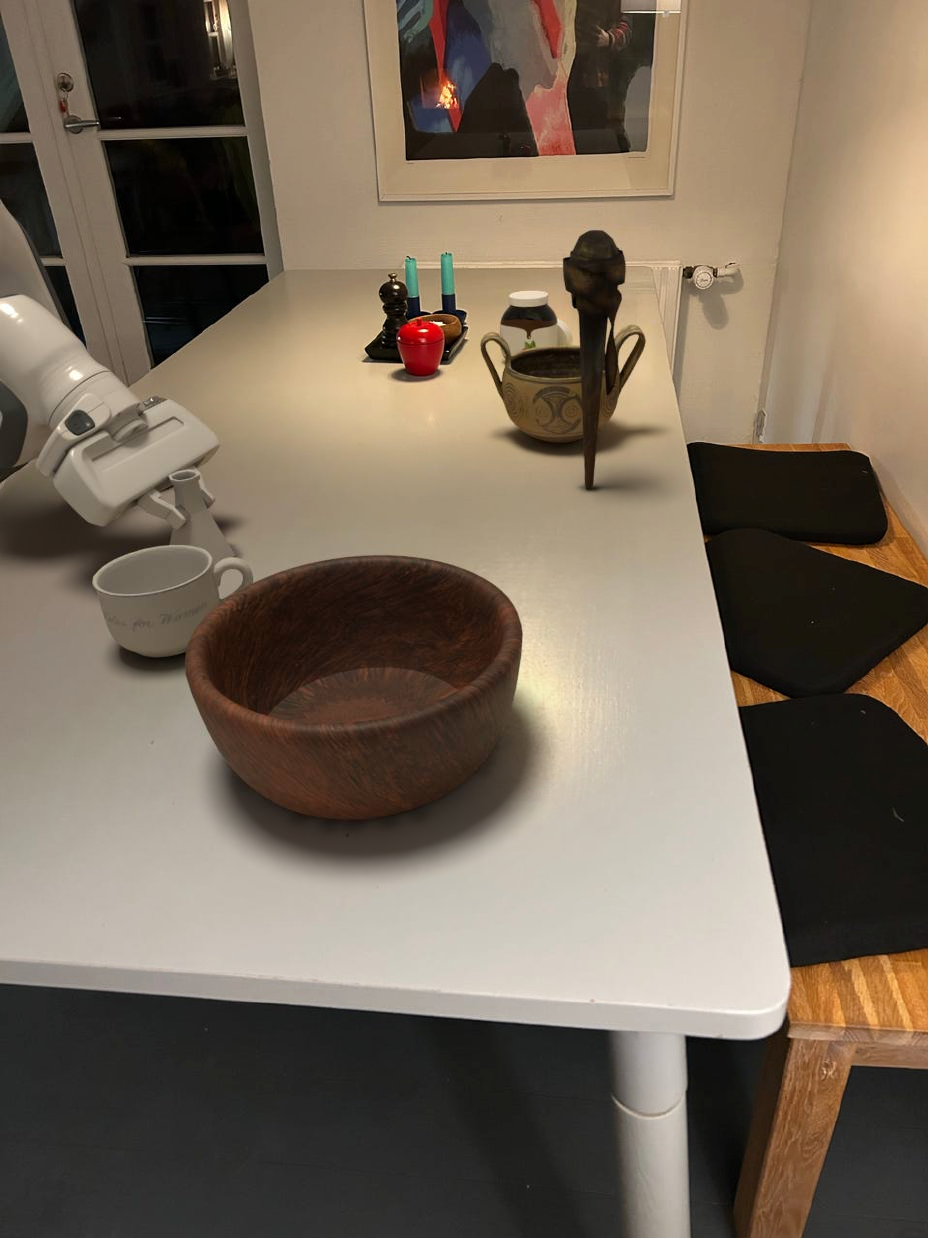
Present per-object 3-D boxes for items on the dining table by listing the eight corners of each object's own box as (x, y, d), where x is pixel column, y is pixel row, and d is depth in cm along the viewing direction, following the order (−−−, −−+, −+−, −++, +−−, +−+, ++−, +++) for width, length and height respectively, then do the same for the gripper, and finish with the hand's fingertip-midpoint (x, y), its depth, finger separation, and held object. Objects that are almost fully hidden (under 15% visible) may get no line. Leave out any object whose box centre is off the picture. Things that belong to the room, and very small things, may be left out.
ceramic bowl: (632, 415, 138) (638, 312, 130) (646, 456, 123) (653, 343, 115) (484, 418, 139) (481, 317, 131) (481, 460, 125) (477, 348, 117)
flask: (247, 557, 102) (231, 473, 97) (189, 580, 98) (170, 493, 93) (213, 538, 107) (196, 457, 102) (156, 559, 103) (136, 476, 97)
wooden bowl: (521, 650, 84) (520, 549, 78) (527, 850, 62) (526, 730, 57) (251, 654, 85) (232, 555, 80) (166, 852, 63) (132, 734, 58)
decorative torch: (577, 502, 111) (583, 238, 96) (552, 483, 117) (553, 230, 101) (626, 492, 113) (639, 231, 98) (599, 473, 119) (607, 224, 103)
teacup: (97, 674, 83) (74, 597, 79) (130, 613, 92) (111, 542, 88) (250, 666, 83) (235, 589, 79) (268, 606, 92) (256, 534, 88)
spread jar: (496, 366, 164) (494, 298, 158) (513, 349, 173) (512, 285, 167) (562, 369, 160) (562, 300, 154) (575, 352, 169) (577, 286, 163)
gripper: (150, 409, 108) (235, 495, 110) (22, 473, 91) (125, 572, 93) (174, 374, 104) (262, 463, 106) (45, 434, 88) (151, 538, 90)
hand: (197, 515), depth 99 cm, fingers closed on flask, 3 cm apart
